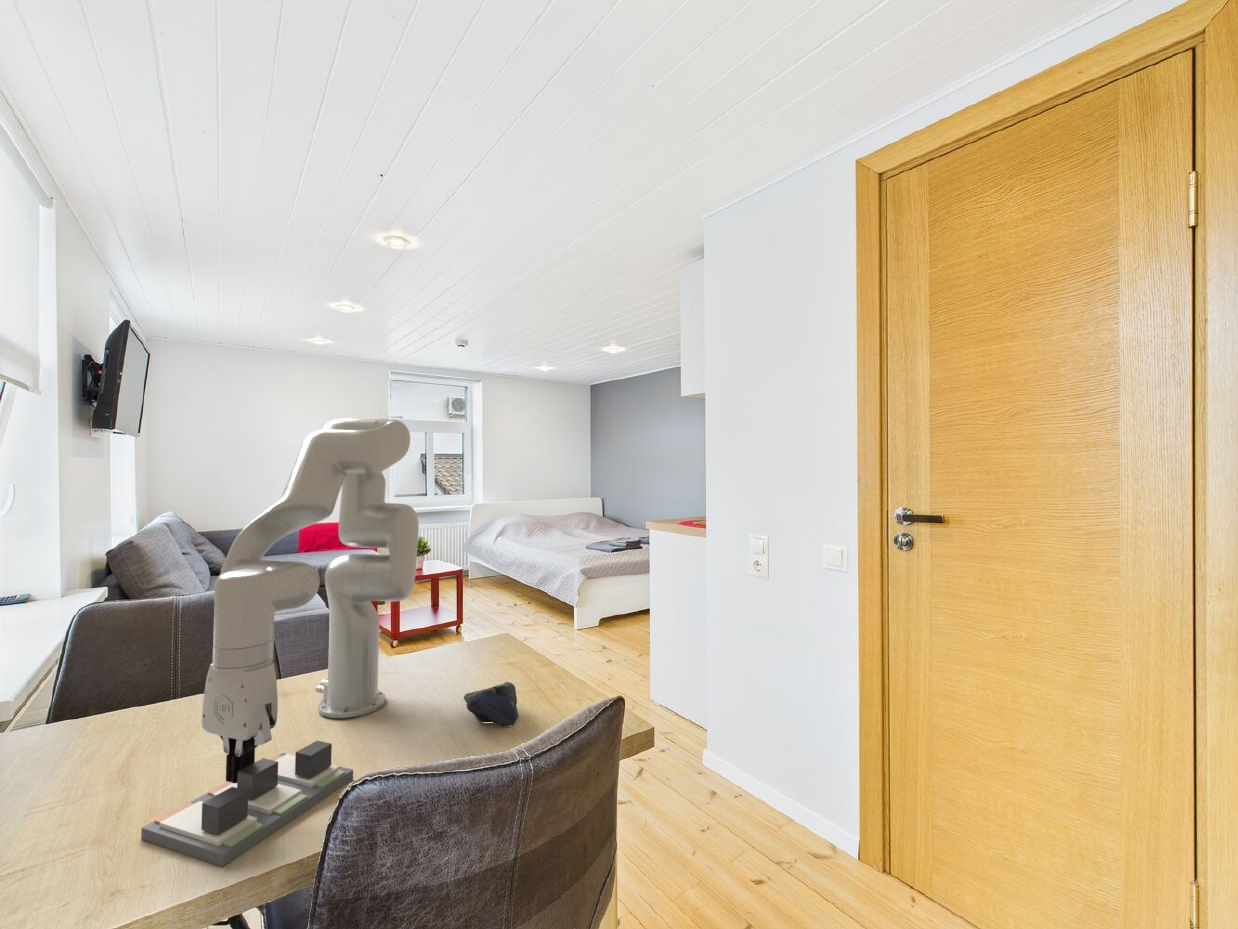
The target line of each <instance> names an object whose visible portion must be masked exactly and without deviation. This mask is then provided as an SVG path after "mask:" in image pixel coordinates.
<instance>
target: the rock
mask: <svg viewBox="0 0 1238 929" xmlns="http://www.w3.org/2000/svg"><path fill="white" fill-rule="evenodd" d="M463 700H464V701H465V703H466V708H467V710H468V711H469V712H470V713H472V714H473V715H474V717H475V718H476V719H477V718H478V719H477V720H478V721H479V722H480V721H481V722H493V723H496V724H495V725H498V726H501V727H504V726H510V725H512V726H513V725H514V724H515V723H516V721H517V720H518V718H519V711H518V710H519V709H518V707H517V703H518V698H517V690H516V686H515V684H514V683H512V682H510V681H505V682H504V683H501V684H497V685H495V686H492V687H488V688H485V689H480V690H475V691H472V692H467V693H465V694H464V696H463ZM481 722H480V723H481Z"/></svg>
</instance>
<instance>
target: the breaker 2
mask: <svg viewBox="0 0 1238 929" xmlns="http://www.w3.org/2000/svg"><path fill="white" fill-rule="evenodd" d="M332 745H333V743H330V742H326V741H321V740H316V741H314V742H312V743H310V744H308V745H306V746H305V747H303V748H301V749H299V750H297V751H295V755H294V756H295V775H297V776H301V777H305V778H309V779H310V778H312V777H314V776H315V775H317V774H319V773H320V772H322V771H324V770H325V769H327V768H328V767H330V766H331V764H332V749H333V746H332Z"/></svg>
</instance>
